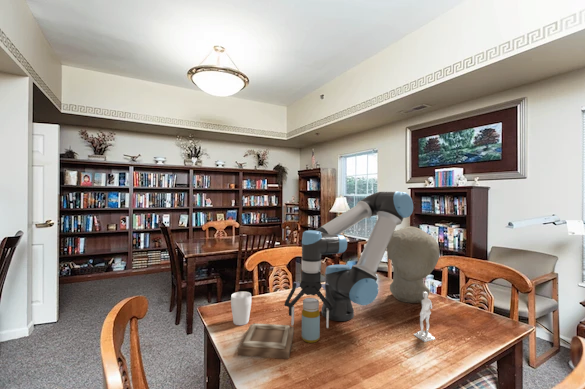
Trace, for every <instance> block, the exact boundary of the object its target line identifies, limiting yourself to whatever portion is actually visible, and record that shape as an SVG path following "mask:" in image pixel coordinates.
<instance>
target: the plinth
mask: <svg viewBox="0 0 585 389" xmlns="http://www.w3.org/2000/svg"><path fill="white" fill-rule="evenodd" d="M290 325H291V324H290ZM290 325H288V324H274V323H273V324H271V323H254V322H253V323H252V324H251V323H250V325H249V326H248V328H247V331H246V332H245V334H244V336H243V338H242V339H241V342H240V344H239V345H238V347H237V356H241V357H256V358H258V357H259V358H271V359H287V360H288V359H290V355H291V349H292V344H293V338H294V333H295V332H294V331H295V329H294V327H295V326H290Z"/></svg>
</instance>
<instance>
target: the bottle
mask: <svg viewBox="0 0 585 389" xmlns="http://www.w3.org/2000/svg"><path fill="white" fill-rule="evenodd" d="M319 303H320V302H319V299H318V298H315V297H306V298H304V299H303V300H302V311H301V340H303V341H304V342H305V343H307V344H313V343H317V342H319V340H320V332H321V330H320V322H321V320H320V319H321V316H320V315H321V314H320V313H321V311H320V310H319V307H320V306H319Z"/></svg>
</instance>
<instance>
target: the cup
mask: <svg viewBox="0 0 585 389" xmlns="http://www.w3.org/2000/svg"><path fill="white" fill-rule="evenodd" d="M230 295H231V297H230V306H231V314H232V322H233V324H234V325H236V326H245V325H247V324H248V323H249V320H250V315H251V309H252V293H251V292H249V291H237V292H233V293H232V294H230Z"/></svg>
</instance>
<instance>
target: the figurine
mask: <svg viewBox="0 0 585 389" xmlns="http://www.w3.org/2000/svg"><path fill="white" fill-rule="evenodd" d="M423 297H424V299H423V300H422V301H421V302H420V304H421V310H420V312H419V316H420V317H419V326H420V327H419V328H420V330H418V331H417V332H416V333H413V336H415V337H416V338H417V339H419V340H420V341H422V342H424V343H427V342H430V341H433V340H436V338H435V336H434V335H432V333H430V332H429V330H430V321H429V320H430V317H431V316H430V315H431V314H432V311H431V310H432V309H433V304H432V300H431V299H430V298H429V295H428V293H427V292H423ZM427 297H428V298H427ZM424 320H425V323H426V325H425V326H426V327H425V328H426V329H425V330H424Z"/></svg>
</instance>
